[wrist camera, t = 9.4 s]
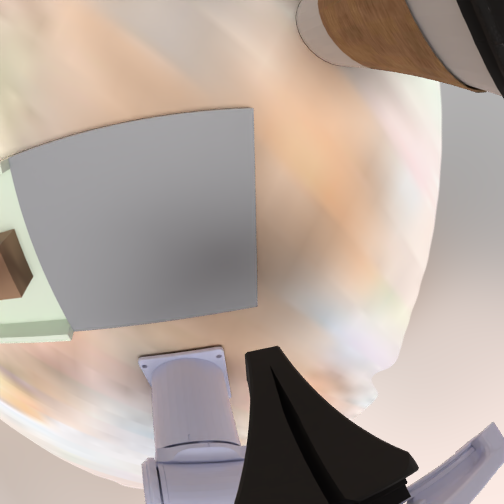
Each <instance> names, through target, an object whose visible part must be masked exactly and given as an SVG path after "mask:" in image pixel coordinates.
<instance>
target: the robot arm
mask: <svg viewBox="0 0 504 504" xmlns="http://www.w3.org/2000/svg"><path fill="white" fill-rule="evenodd" d="M245 363H246V376H247V382H248V387H249V392H250V417H249V430H248V439H247V446H241V443H240V440H239V436H238V432H237V428H236V424H235V420H234V416H233V412H232V408H231V404H230V400H229V398H231V391H230V386H229V380H228V374H227V368H226V362H225V356H224V350H223V348H222V347H212V348H206V349H200V350H193V351H186V352H179V353H172V354H164V355H156V356H147V357H140V358H139V359H138V364H139V366H140V368H141V370H142V372H143V373H144V375H145V377H146V379H147V381H148V382H149V384H150V386H151V388H152V409H153V426H154V439H155V450H156V453H155V460H154V458H147V459H146V461H144V462H143V463H142V475H143V485H144V493H145V501H146V504H403V503H405V502H406V501H407V504H470V503H471V501H472V500H473V499H474V498H475V497H476V496H477V495H478V494H479V492H480V491H481V490H482V489H483V488H484V486H485V485H486V484H487V483H488V481H489V480H490V479H491V477H492V476H493V475H494V474H495V473H496V471H497V470H498V469H499V468H500V467H501V465H502V464H503V463H504V437H503V436H502V434H501V433H500V431H499V430H498V428H497V426H496V425H495V423H494V422H492V423H491V424H490V425H489V426H487V427H486V428H485V429H484V430H483V431H482V432H481V433H479V434H478V435H477V436H476V437H474V438H473V439H471V440H470V441H469V442H467V443H466V444H465V445H464V446H463V447H461V448H460V449H459V450H458V451H456V453H455V454H454V455H453V456H452V457H450V458H449V459H448V460H446V461H445V462H444V463H442V464H441V465H440V466H438V467H437V468H435V469H434V470H433V471H431V472H430V473H428V474H427V475H425V476H424V477H422V478H421V479H419V480H418V481H416V482H414V483H413V484H411V485H410V486H408V487H406V486H405V484H407V481H406V479H405V478H406V477H408V476H410V475H411V474H413V473H414V472H416V471H417V470H418V468H419V467H418V465H417V464H416V462H415V460H414V459H413V458H412V456H411V455H410V454H409V453H408V452H407V451H404V450H402V449H400V448H397V447H395V446H393V445H391V444H389V443H386V442H384V441H383V440H381V439H379V438H377V437H375V436H374V435H372V434H370V433H369V432H367V431H366V430H364V429H362V428H361V427H359V426H357V425H356V424H355V423H353V422H352V421H350V420H349V419H348V418H346V417H345V416H344V415H342V414H341V413H340V412H339V411H337V410H336V409H335V408H334V407H333V406H331V405H330V404H329V403H328V402H327V401H326V400H325V399H324V398H323V397H322V396H320V395H319V394H318V393H317V392H316V391H315V390H314V389H313V388H312V387H311V385H310V384H309V383H308V382H307V381H306V380H305V379H304V378H303V377H302V376H301V374H300V373H299V372H298V371H297V370H296V369H295V367H294V366H293V365H292V364H291V362H290V361H289V360H288V358H287V357H286V356H285V354H284V353H283V352H282V350H281V349H280V347H278V346H274V347H270V348H265V349H260V350H256V351H251V352H247V353H246V354H245Z"/></svg>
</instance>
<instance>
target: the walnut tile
mask: <svg viewBox="0 0 504 504" xmlns="http://www.w3.org/2000/svg"><path fill="white" fill-rule="evenodd" d="M32 278H33V274H32V272H31V270H30V268H29V265H28V263H27V261H26V258H25V256H24V253H23V251H22V248H21V246H20V243H19V240H18V238H17V235H16V232H15V229H12V230H8V231H5V232H1V233H0V300H6V299H14V298H22V296H23V294H24V292H25V291H26V289H27V287H28V285H29V283H30V282H31V280H32Z"/></svg>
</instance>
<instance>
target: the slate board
mask: <svg viewBox="0 0 504 504" xmlns="http://www.w3.org/2000/svg"><path fill="white" fill-rule="evenodd" d="M8 161H9V166H10V170H11V175H12V179H13V183H14V187H15V191H16V195H17V198H18V202H19V205H20V209H21V212H22V215H23V218H24V222H25V225H26V228H27V230H28V233H29V236H30V239H31V242H32V244H33V247H34V250H35V252H36V255H37V257H38V260H39V262H40V264H41V267H42V269H43V272H44V274H45V276H46V278H47V281H48V283H49V285H50V287H51V289H52V291H53V293H54V295H55V297H56V299H57V301H58V303H59V305H60V307H61V309H62V311H63V313H64V315H65V317H66V319H67V320H68V322H69V324H70V326H71V328H72V329H73V331H85V330H96V329H106V328H116V327H124V326H133V325H141V324H149V323H157V322H164V321H172V320H179V319H185V318H192V317H199V316H205V315H211V314H217V313H223V312H229V311H235V310H241V309H246V308H252V307H257V306H258V305H257V248H256V199H255V153H254V112H253V108H249V107H247V108H228V109H214V110H203V111H193V112H184V113H176V114H169V115H162V116H156V117H150V118H144V119H138V120H133V121H128V122H123V123H118V124H114V125H109V126H105V127H101V128H96V129H92V130H89V131H85V132H81V133H77V134H74V135H70V136H67V137H64V138H60V139H57V140H54V141H51V142H48V143H45V144H42V145H39V146H36V147H33V148H30V149H28V150H25V151H22V152H20V153H17V154H15V155H13V156H11V157H9V158H8Z"/></svg>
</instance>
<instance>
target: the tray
mask: <svg viewBox="0 0 504 504" xmlns="http://www.w3.org/2000/svg"><path fill="white" fill-rule="evenodd" d="M12 156H13V155H12ZM10 157H11V156H10ZM8 158H9V157H7V158H5V159H3V160H0V233H1V232H5V231H8V230H12V229H15V232H16V235H17V238H18V240H19V243H20V246H21V248H22V251H23V253H24V256H25V258H26V261H27V263H28V265H29V268H30V270H31V272H32V274H33V278H32V280H31V282H30V283H29V285H28V287H27V289H26V291H25V292H24V294H23V296H22V298H14V299H6V300H0V343H35V342H56V341H71V340H72V336H73V332H74V331H73V329H72V328H71V326H70V324H69V322H68V320H67V319H66V317H65V315H64V313H63V311H62V309H61V307H60V305H59V303H58V301H57V299H56V297H55V295H54V293H53V291H52V289H51V287H50V285H49V283H48V281H47V278H46V276H45V274H44V272H43V269H42V267H41V264H40V262H39V260H38V257H37V255H36V252H35V250H34V247H33V244H32V242H31V239H30V236H29V233H28V230H27V228H26V225H25V222H24V218H23V215H22V212H21V209H20V205H19V202H18V198H17V195H16V191H15V187H14V183H13V179H12V175H11V170H10V166H9V161H8Z"/></svg>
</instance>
